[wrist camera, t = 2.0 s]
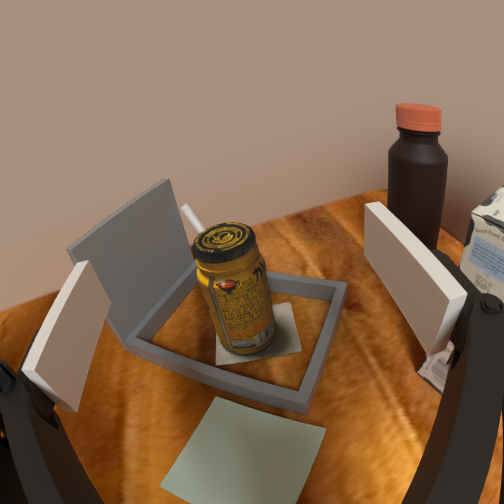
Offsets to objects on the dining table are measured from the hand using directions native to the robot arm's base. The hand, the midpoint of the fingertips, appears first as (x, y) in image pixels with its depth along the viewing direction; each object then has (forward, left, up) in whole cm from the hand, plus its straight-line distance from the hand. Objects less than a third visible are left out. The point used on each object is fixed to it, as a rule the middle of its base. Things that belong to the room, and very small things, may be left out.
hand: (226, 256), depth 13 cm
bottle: (+10, +23, -17) cm, 30 cm away
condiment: (-5, +9, -17) cm, 20 cm away
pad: (0, -5, -16) cm, 17 cm away
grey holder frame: (-7, +9, -16) cm, 20 cm away
